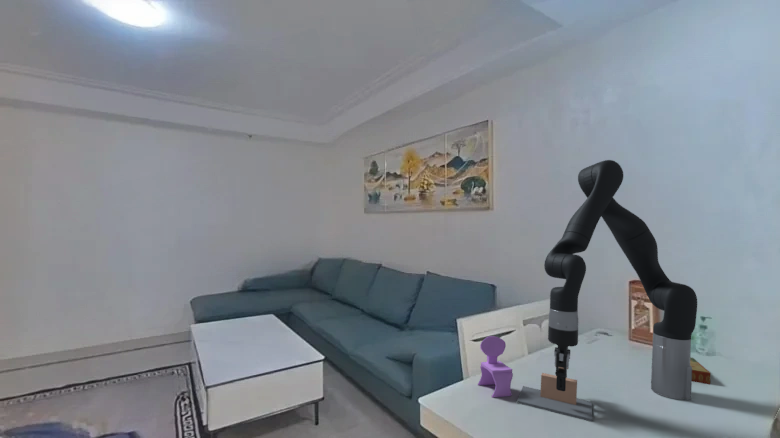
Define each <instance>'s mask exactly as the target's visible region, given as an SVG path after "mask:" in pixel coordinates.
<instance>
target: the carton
mask: <svg viewBox="0 0 780 438" xmlns="http://www.w3.org/2000/svg"><path fill="white" fill-rule="evenodd" d="M690 365H691V367H692V382H693V383H698V384H699V383H700V384H706V385H710V384H711V372H710V371H709V370H708V369H707V368H706V367H704V366H703V365H702V364H701V363H700V362H698V360H696V359H695V358H694V357H692V356H690Z"/></svg>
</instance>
